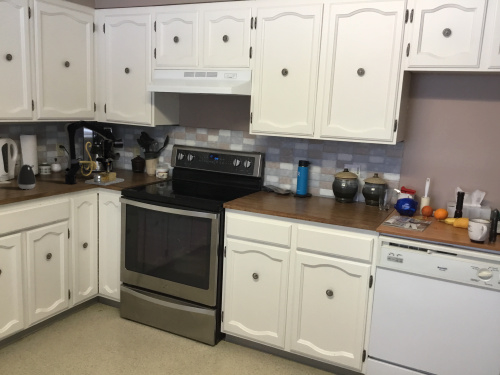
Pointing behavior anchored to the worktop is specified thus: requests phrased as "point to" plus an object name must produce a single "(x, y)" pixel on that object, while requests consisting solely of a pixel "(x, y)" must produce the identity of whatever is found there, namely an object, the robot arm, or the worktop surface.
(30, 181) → the pump dispenser
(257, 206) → the worktop surface
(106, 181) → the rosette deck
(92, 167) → the wall sconce
